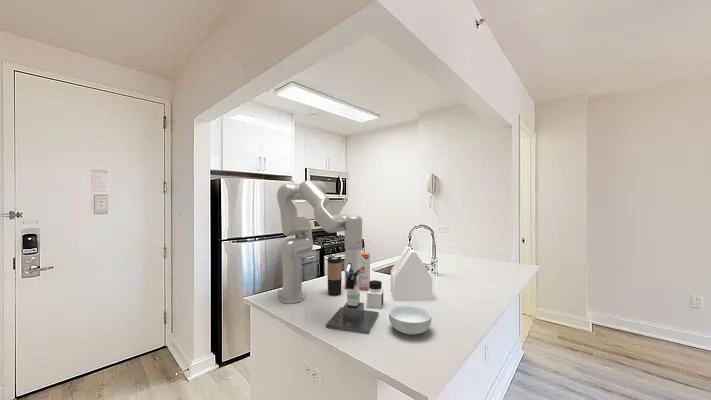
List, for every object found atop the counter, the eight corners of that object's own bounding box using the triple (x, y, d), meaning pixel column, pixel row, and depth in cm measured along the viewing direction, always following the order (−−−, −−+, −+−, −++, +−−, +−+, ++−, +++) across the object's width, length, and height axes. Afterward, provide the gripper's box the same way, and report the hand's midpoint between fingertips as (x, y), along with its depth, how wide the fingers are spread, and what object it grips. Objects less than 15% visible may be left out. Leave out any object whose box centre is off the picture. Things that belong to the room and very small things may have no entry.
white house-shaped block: (424, 290, 160) (424, 246, 159) (432, 300, 144) (432, 252, 144) (390, 290, 159) (390, 246, 159) (395, 300, 144) (395, 252, 143)
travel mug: (330, 297, 149) (330, 259, 148) (325, 292, 156) (325, 256, 155) (343, 294, 152) (343, 258, 152) (338, 290, 159) (338, 255, 159)
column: (345, 305, 119) (345, 272, 118) (349, 301, 124) (349, 269, 123) (357, 307, 117) (357, 273, 117) (361, 302, 122) (360, 269, 122)
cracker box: (344, 289, 161) (344, 253, 161) (346, 286, 167) (346, 251, 166) (368, 290, 159) (368, 254, 158) (370, 287, 165) (370, 251, 164)
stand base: (325, 327, 114) (325, 310, 114) (341, 310, 132) (340, 295, 132) (368, 334, 109) (368, 316, 109) (378, 315, 126) (378, 299, 126)
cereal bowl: (423, 345, 101) (423, 326, 101) (381, 333, 110) (381, 315, 109) (436, 327, 115) (436, 309, 115) (399, 317, 124) (399, 301, 124)
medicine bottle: (381, 308, 134) (381, 283, 134) (367, 307, 135) (367, 282, 135) (383, 303, 141) (383, 279, 141) (369, 301, 142) (369, 278, 142)
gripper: (351, 241, 129) (351, 278, 130) (337, 248, 113) (338, 291, 113) (367, 241, 127) (367, 280, 127) (355, 249, 110) (355, 293, 111)
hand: (353, 285), depth 120 cm, fingers open, 8 cm apart
